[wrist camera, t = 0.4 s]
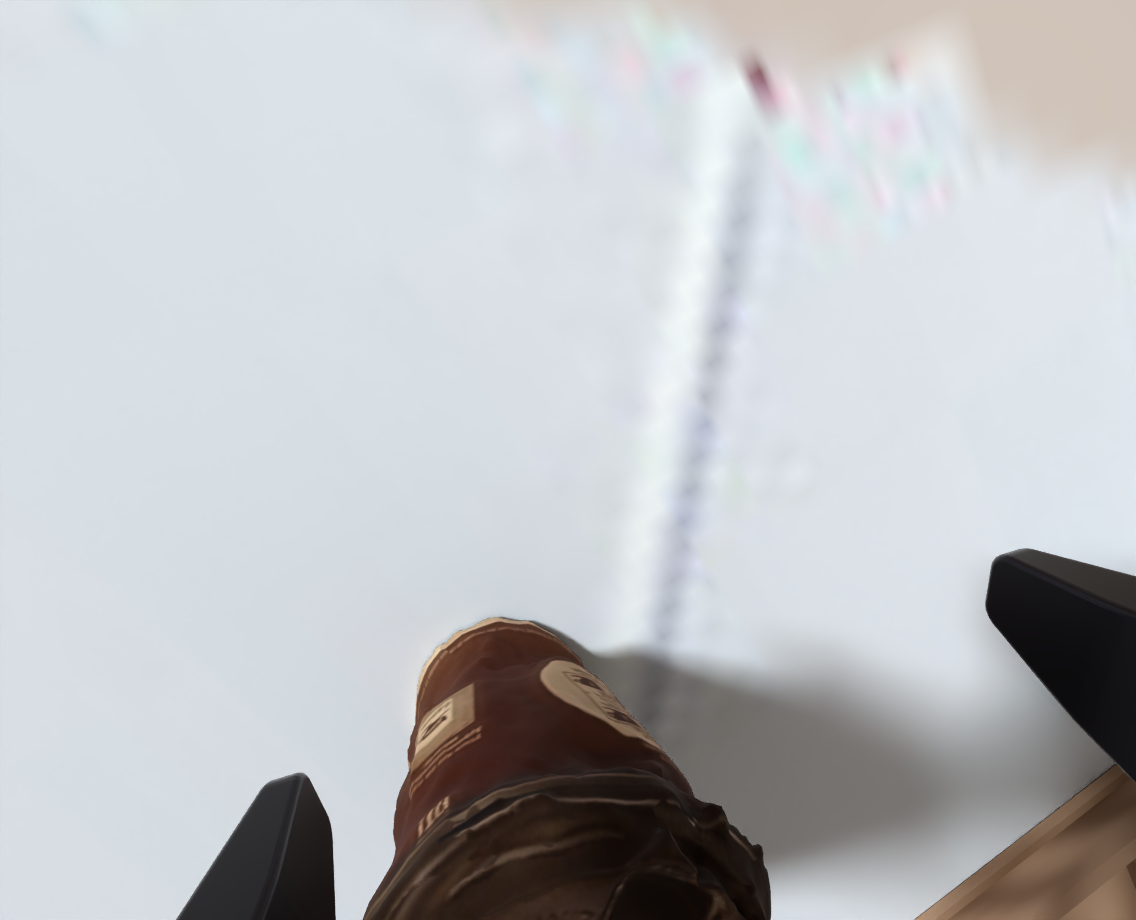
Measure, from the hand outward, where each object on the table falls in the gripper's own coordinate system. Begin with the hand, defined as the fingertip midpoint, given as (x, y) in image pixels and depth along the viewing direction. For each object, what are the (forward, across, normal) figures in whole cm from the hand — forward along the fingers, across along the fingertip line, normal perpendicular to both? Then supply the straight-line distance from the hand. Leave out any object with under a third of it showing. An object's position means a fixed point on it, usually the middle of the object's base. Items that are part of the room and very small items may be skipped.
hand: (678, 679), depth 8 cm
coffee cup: (+13, +3, +12) cm, 18 cm away
